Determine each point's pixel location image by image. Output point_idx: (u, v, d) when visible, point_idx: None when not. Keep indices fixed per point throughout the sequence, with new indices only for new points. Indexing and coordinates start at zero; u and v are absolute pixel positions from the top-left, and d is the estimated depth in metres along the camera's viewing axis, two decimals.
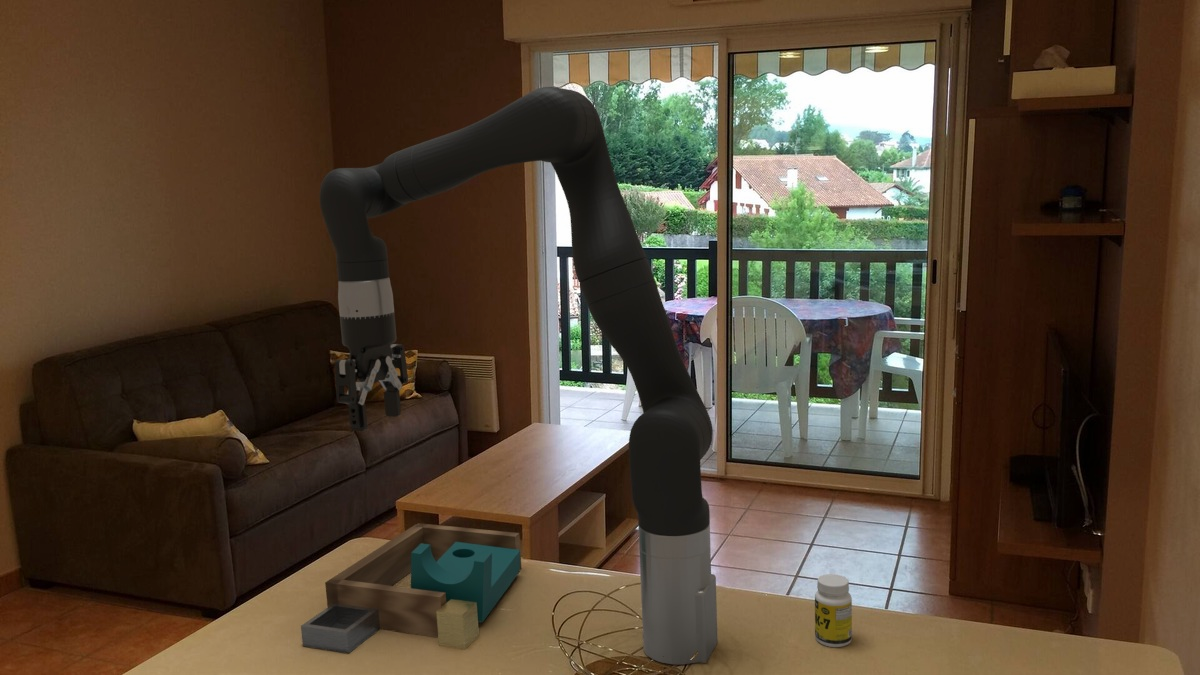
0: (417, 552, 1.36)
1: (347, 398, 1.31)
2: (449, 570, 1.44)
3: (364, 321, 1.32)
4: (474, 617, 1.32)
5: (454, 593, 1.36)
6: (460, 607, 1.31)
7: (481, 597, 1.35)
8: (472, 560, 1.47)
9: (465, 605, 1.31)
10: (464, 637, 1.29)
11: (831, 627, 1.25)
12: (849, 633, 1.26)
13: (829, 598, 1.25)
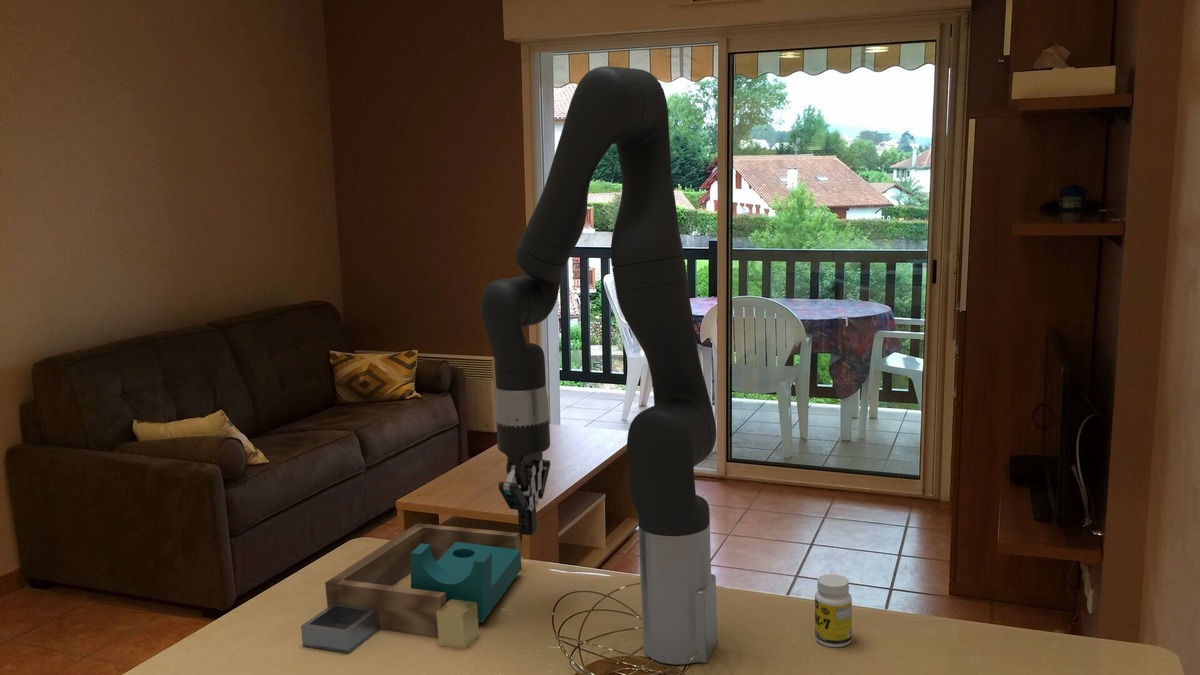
0: (417, 552, 1.36)
1: (520, 506, 1.36)
2: (449, 570, 1.44)
3: (524, 430, 1.33)
4: (474, 617, 1.32)
5: (454, 593, 1.36)
6: (460, 607, 1.31)
7: (481, 597, 1.35)
8: (472, 560, 1.47)
9: (465, 605, 1.31)
10: (464, 637, 1.29)
11: (831, 627, 1.25)
12: (849, 633, 1.26)
13: (829, 598, 1.25)
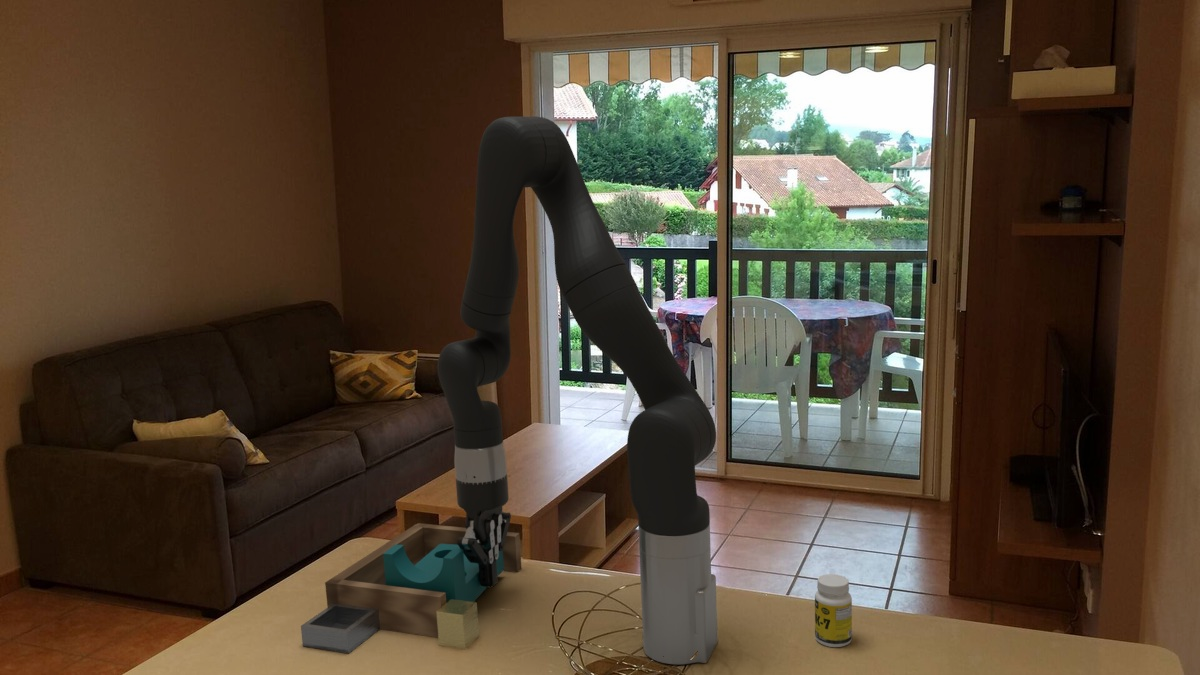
0: (389, 553, 1.37)
1: (479, 559, 1.40)
2: (427, 570, 1.44)
3: (481, 486, 1.38)
4: (474, 617, 1.32)
5: None
6: (460, 607, 1.31)
7: (453, 593, 1.35)
8: None
9: (465, 605, 1.31)
10: (464, 637, 1.29)
11: (831, 627, 1.25)
12: (849, 633, 1.26)
13: (829, 598, 1.25)
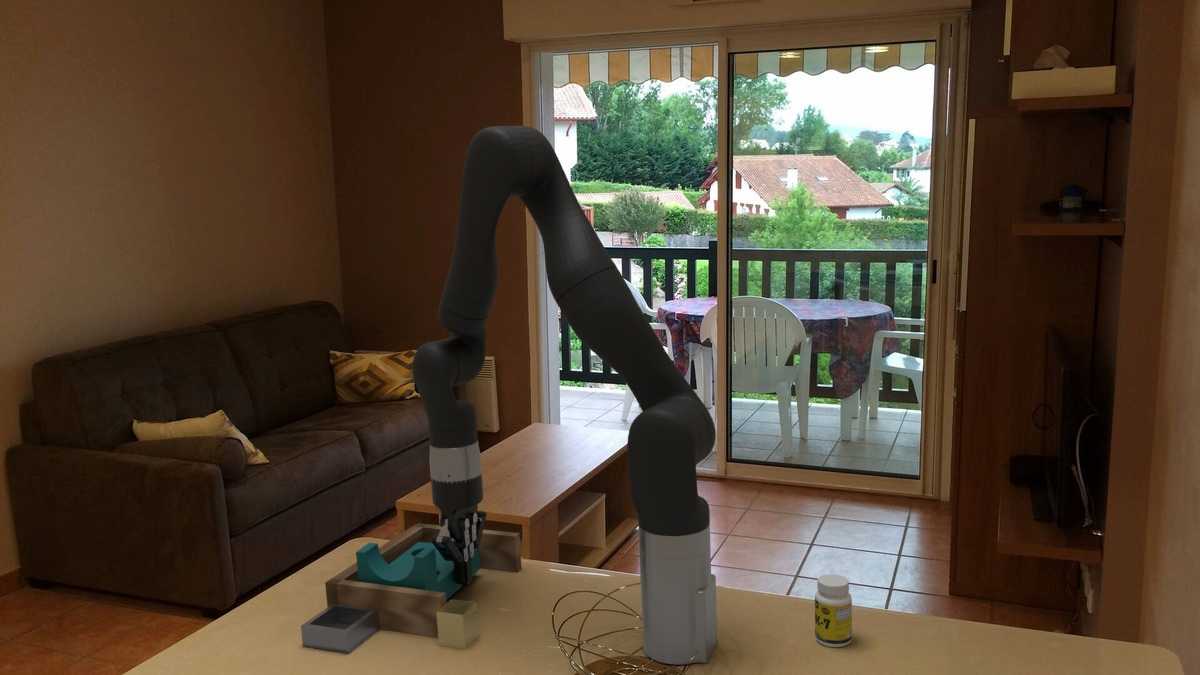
0: (362, 551, 1.39)
1: None
2: (402, 569, 1.45)
3: (455, 485, 1.39)
4: (474, 617, 1.32)
5: None
6: (460, 607, 1.31)
7: None
8: None
9: (465, 605, 1.31)
10: (464, 637, 1.29)
11: (831, 627, 1.25)
12: (849, 633, 1.26)
13: (829, 598, 1.25)
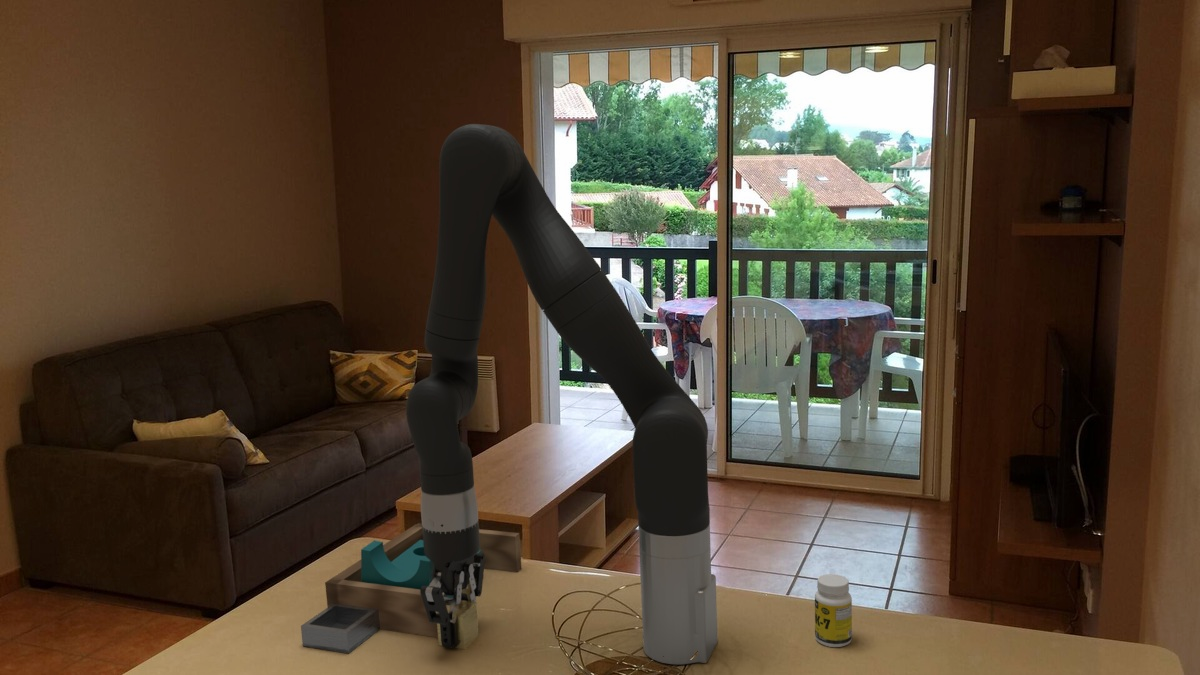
0: (367, 549, 1.38)
1: (440, 620, 1.26)
2: (404, 568, 1.45)
3: (449, 536, 1.26)
4: (474, 617, 1.32)
5: None
6: (460, 607, 1.31)
7: None
8: None
9: (464, 605, 1.31)
10: (463, 636, 1.29)
11: (831, 627, 1.25)
12: (849, 633, 1.26)
13: (829, 598, 1.25)
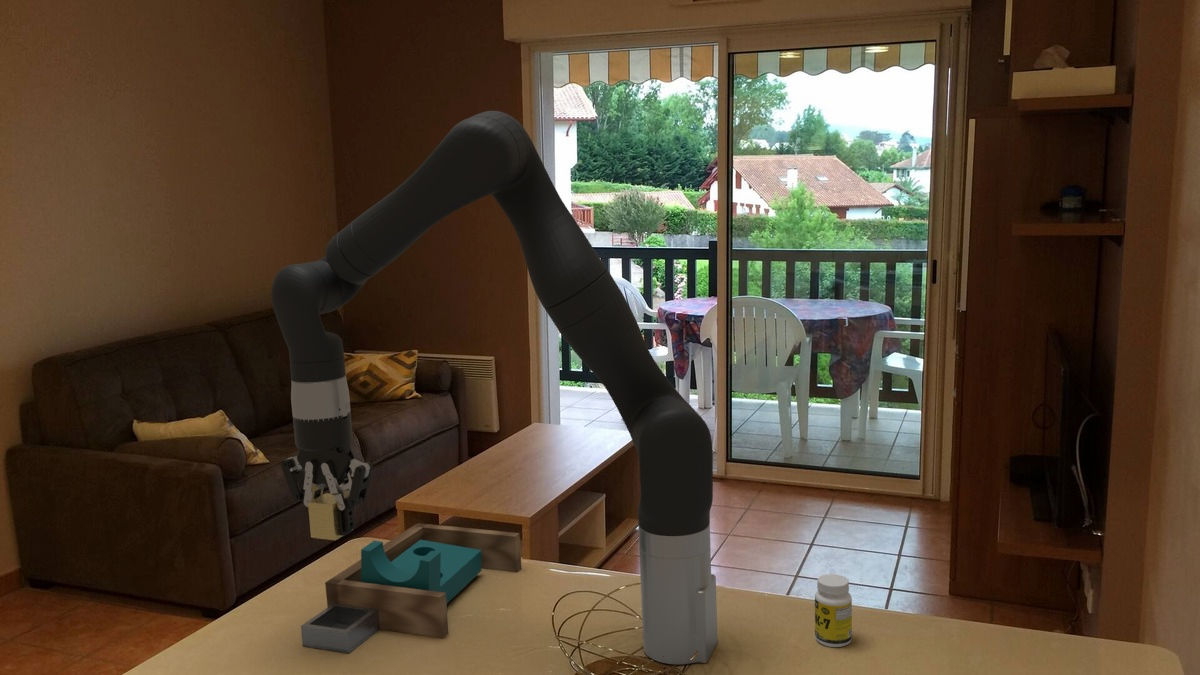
0: (367, 549, 1.38)
1: None
2: (404, 568, 1.45)
3: None
4: (328, 517, 1.29)
5: None
6: (325, 500, 1.31)
7: None
8: None
9: (328, 501, 1.30)
10: None
11: (831, 627, 1.25)
12: (849, 633, 1.26)
13: (829, 598, 1.25)
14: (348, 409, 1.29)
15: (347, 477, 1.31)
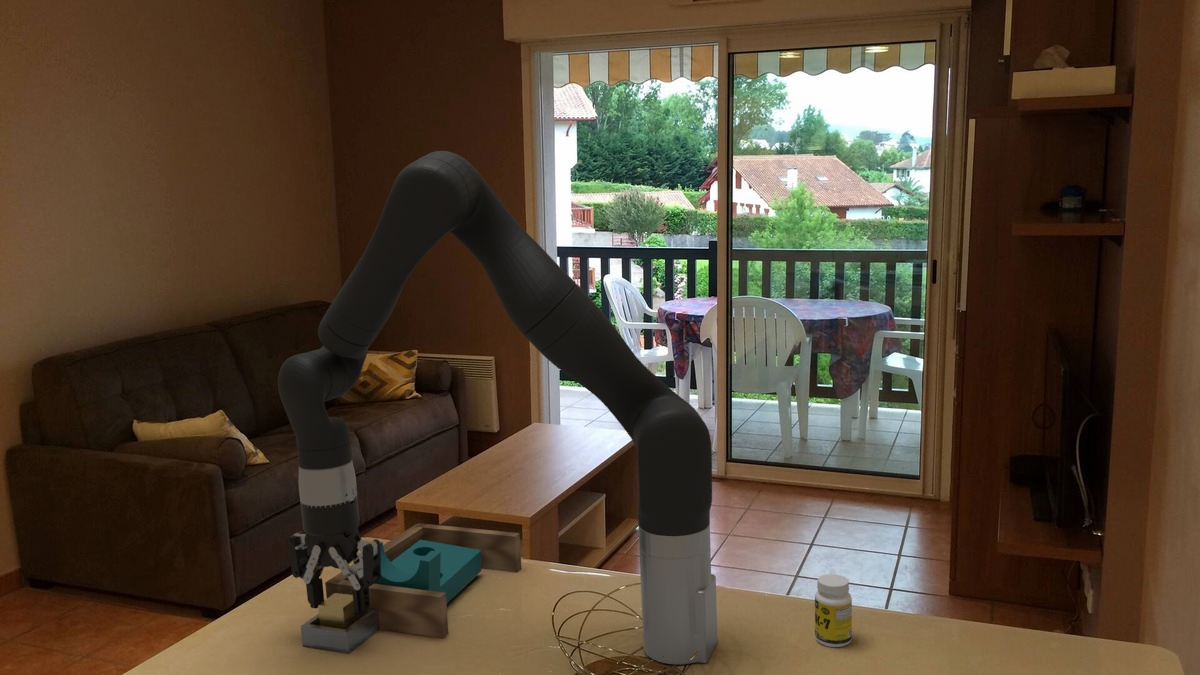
0: None
1: None
2: (404, 568, 1.45)
3: None
4: (338, 619, 1.32)
5: None
6: (335, 602, 1.33)
7: None
8: None
9: (338, 603, 1.33)
10: None
11: (831, 627, 1.25)
12: (849, 633, 1.26)
13: (829, 598, 1.25)
14: (355, 493, 1.31)
15: (357, 557, 1.33)
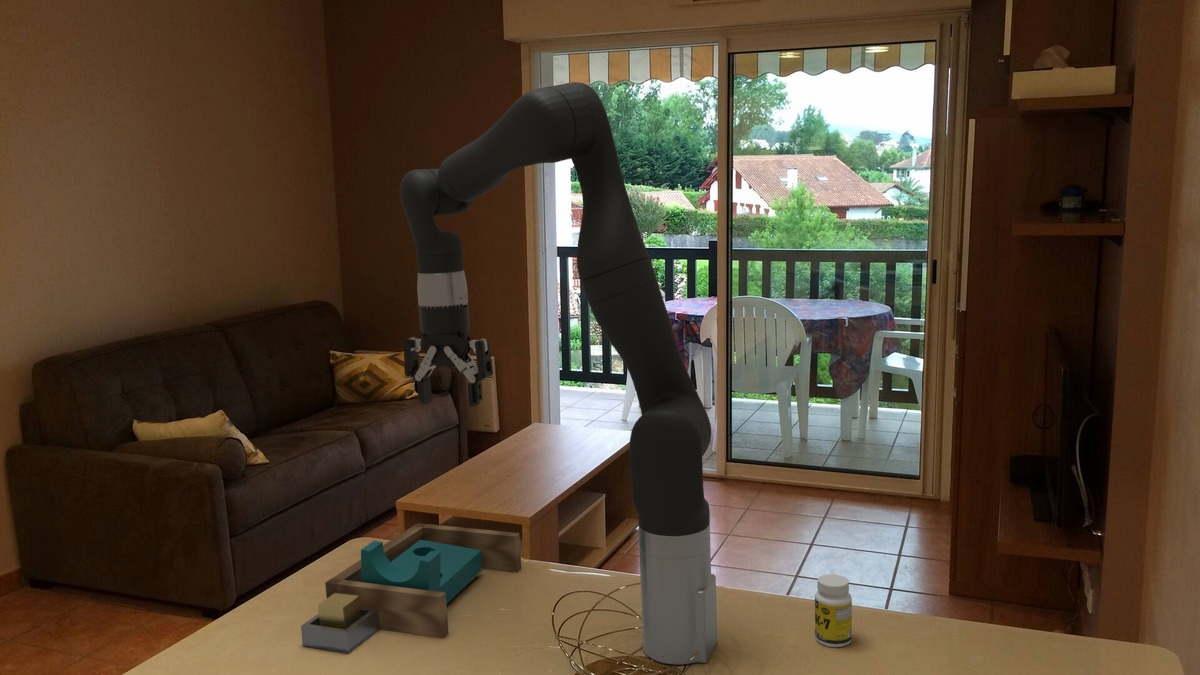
0: (367, 549, 1.38)
1: None
2: (404, 568, 1.45)
3: None
4: (338, 619, 1.32)
5: None
6: (335, 602, 1.33)
7: None
8: None
9: (338, 603, 1.33)
10: None
11: (831, 627, 1.25)
12: (849, 633, 1.26)
13: (829, 598, 1.25)
14: (467, 299, 1.47)
15: (468, 358, 1.49)
